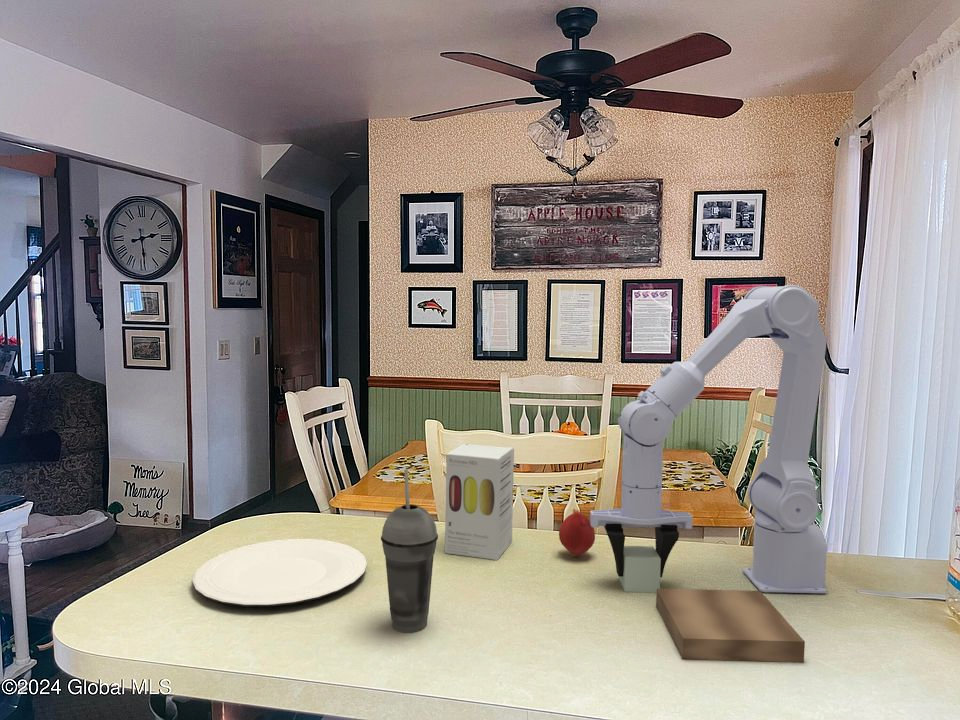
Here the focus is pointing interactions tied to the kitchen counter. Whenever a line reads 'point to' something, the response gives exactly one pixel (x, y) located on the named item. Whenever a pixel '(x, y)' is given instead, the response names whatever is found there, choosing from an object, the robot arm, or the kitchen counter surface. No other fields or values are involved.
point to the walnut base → (728, 626)
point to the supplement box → (479, 500)
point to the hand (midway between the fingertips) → (639, 574)
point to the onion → (577, 533)
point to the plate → (279, 572)
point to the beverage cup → (409, 563)
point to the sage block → (641, 569)
